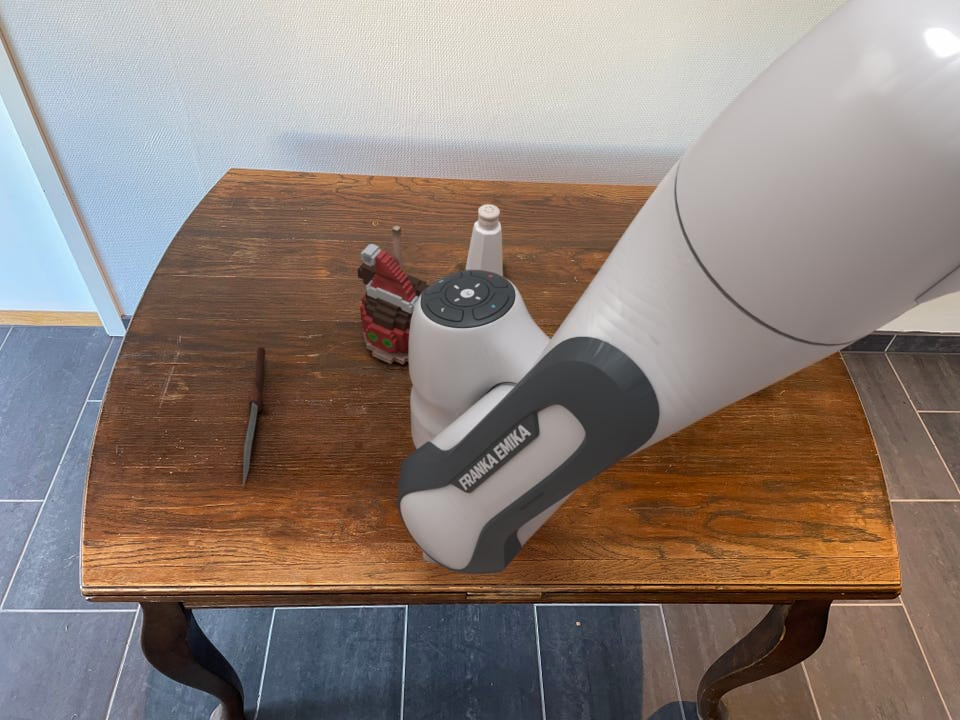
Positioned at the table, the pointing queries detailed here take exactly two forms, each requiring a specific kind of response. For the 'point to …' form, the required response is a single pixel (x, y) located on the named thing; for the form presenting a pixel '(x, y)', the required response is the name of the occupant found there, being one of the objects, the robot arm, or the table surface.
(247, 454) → the knife
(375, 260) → the christmas cupcake
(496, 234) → the salt shaker
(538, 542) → the table surface
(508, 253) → the table surface
